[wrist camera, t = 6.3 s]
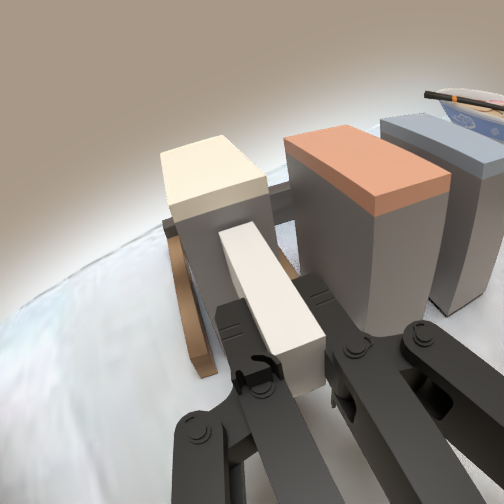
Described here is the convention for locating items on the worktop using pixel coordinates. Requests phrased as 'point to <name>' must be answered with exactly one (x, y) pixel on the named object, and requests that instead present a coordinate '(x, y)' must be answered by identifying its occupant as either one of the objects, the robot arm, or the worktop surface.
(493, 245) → the slate key
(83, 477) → the worktop surface
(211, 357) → the key bed
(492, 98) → the ramen bowl
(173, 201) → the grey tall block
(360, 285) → the terracotta key
